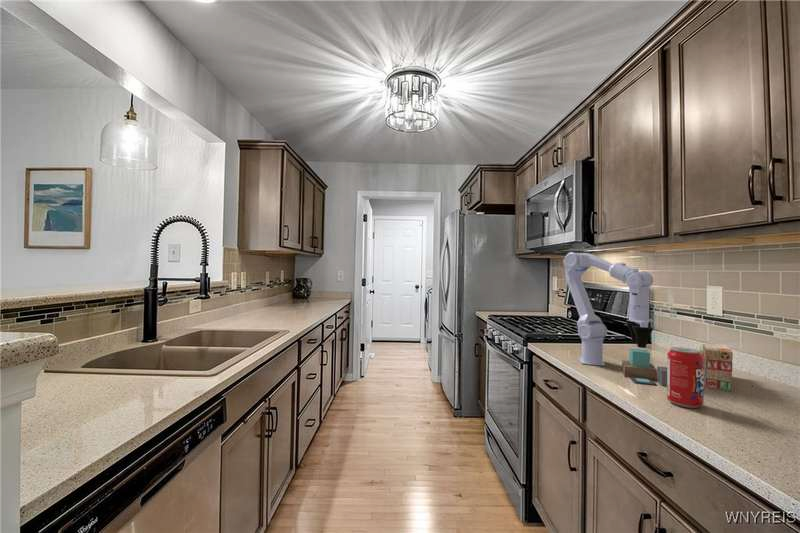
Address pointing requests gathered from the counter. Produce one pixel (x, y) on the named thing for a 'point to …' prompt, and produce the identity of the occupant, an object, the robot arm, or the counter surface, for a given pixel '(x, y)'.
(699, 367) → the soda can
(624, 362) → the walnut block
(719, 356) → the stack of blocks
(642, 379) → the mat
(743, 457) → the counter surface
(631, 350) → the teal cube
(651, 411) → the counter surface
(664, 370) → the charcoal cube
